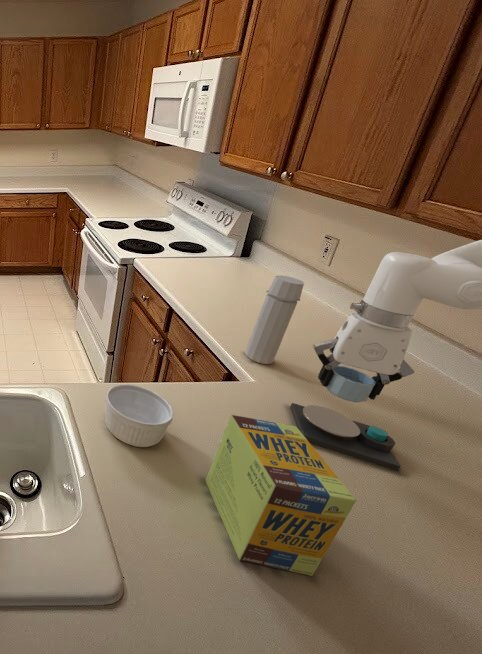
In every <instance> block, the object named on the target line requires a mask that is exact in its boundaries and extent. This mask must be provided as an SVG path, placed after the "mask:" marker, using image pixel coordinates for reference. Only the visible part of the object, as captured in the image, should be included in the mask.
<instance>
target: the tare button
mask: <svg viewBox="0 0 482 654" xmlns="http://www.w3.org/2000/svg"><path fill="white" fill-rule="evenodd" d="M369 426H370V427H369V429H368V431H367V434H368V435H369V436H370V437H372V438H374V439H376V440H379V441H382V442H384V441H385V440H386V438H387V436H388V435H389V434H388V432H387V431H386V430H384V429H382V428H380V427H377V426H373V425H369Z"/></svg>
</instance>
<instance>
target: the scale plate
mask: <svg viewBox="0 0 482 654" xmlns="http://www.w3.org/2000/svg"><path fill="white" fill-rule="evenodd" d="M303 414H304V416H305V417H306V418H307V419H308V420H309V421H310V422H311V423H312V424H314V425H315V426H317V427H319V428H320V429H322V430H324V431H327V432H329V433H331V434H334V435H337V436H341V437H346V438H355V437H358V436H359V435H360V429H359V427H358V426H357V425H356V424H355V423H354V422H353V421H354V420H352V419H351V418H349V417H347V416H345V415H344V414H342V413H340V412H338V411H336V410H333V409H330V408H327V407H325V406H320V405H313V404H312V405H311V404H310V405H305V407H304V408H303ZM351 420H352V421H351Z"/></svg>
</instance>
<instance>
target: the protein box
mask: <svg viewBox="0 0 482 654" xmlns="http://www.w3.org/2000/svg"><path fill="white" fill-rule="evenodd" d="M204 481H205V484H206V487H207V489H208V491H209V493H210V496H211V498H212V500H213V502H214V505H215V508H216V509H217V512H218V514H219V517H220V518H221V521H222V523H223V526H224V528H225V530H226V533H227V535H228V537H229V540H230V542H231V545H232V547H233V549H234V551H235V554H236V556H237V558H238V561H241V562H246V563H251V564H256V565H260V566H265V567H268V568H273V569H279V570H282V571H288V572H293V573H297V574H302V575H306V576H310V577H312V576H314V574H315V572H316V571H317V569H318V567H319V565H320V563H321V562H322V560H323V558H324V557H325V555H326V553H327V551H328V550H329V548H330V546H331V545H332V543H333V541H334V539H335V538H336V536H337V534H338V533H339V531H340V529H341V527H342V526H343V524H344V523H345V521H346V519H347V517H348V516H349V514H350V512H351V510H352V509H353V507H354V506H355V504H356V503H357V498H356V497H355V496H354V495H353V494H352V493H351V491H350V490H349V489H348V487H347V486H346V485H345V484H344V483H343V482H342V480H341V479H340V478H339V477H338V476H337V475H336V473H335V472H334V471H333V470H332V468H331V467H330V465H328V463H327V462H326V461H325V460H324V458H323V457H322V456H321V454H320V453H319V452H318V451H317V450H316V449H315V448H314V446H313V444H311V443H309V442H308V440H307V439H306V438H305V437H304V435H303V434H302V433H301V432H300V431H299V429H298V428H297V426H296V425H290V424H286V423H280V422H274V421H269V420H264V419H263V420H262V419H257V418H251V417H245V416H241V415H235V414H231V415H230V417H229V419H228V422H227V425H226V427H225V429H224V432H223V434H222V437H221V440H220V442H219V445H218V447H217V450H216V452H215V455H214V457H213V459H212V463H211V465H210V467H209V469H208V472H207V475H206V477H205V480H204Z"/></svg>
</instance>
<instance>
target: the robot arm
mask: <svg viewBox="0 0 482 654" xmlns="http://www.w3.org/2000/svg"><path fill="white" fill-rule="evenodd" d="M423 299H427V300H430V301H433V302H436V303H439V304H442V305H446V306H447V307H448V306H449V307H452V308H455V309H461V310H481V309H482V239H479V240H476V241H473V242H470V243H467V244H464V245H461V246H459V247H456V248H453V249H450V250H448V251H445V252H442V253H440V254H437V255H435V256H433V257H432V258H429V257H426V256H423V255H419V254H414V253H410V252H402V251H391V252H389V253H388V252H387V254H385V255H384V256H383V257H382V260H381V261H380V264H379V265H378V267H377V269H376V272H375V273H374V276H373V278H372V280H371V282H370V283H369V286H368V288H367V290H366V292H365V294H364V296H363V299H361V300H360V301H359V303H358V302H356V303H355V302H351V304H350V305H349V309H350V310H354V312H352V313H351V314H350V315H349V316H348V317H347V318H346V320H345V321H344V323H343V324H342V325H341V327H340V328H339V330H338V331H337V332H336V335H335V336H334V338H333V339H329V340H325V341H321V342H315V343H313V344H312V348H313V350H314V352H315V353H316V356H317V357H318V359H319V361H320V362H321V364H322V367H321V369H320V371H319V373H318V375H317V379H318V380H319V383H320V384H321V386H322V387H324V388H326V386H328V384H329V382H330V379H331V377H332V375H333V373H334V371H333V368H334V367H336V366H338V365H341V364H342V365H344V366H348V367H351V368H357V369H361V370H364V371H368V372H372V373H375V374H376V375H373V376H372V377H371V378H373V379H374V381H375V382H376V383H375V385H374V387H373V389H372V391H371V393H370V395H369V397H368V399H369V400H372V401H374V400H376V398H377V396H380V395H381V392H382V391H383V389H384V388H385V386H387V385H390V383H392V382H396V381H399V380H402V379H403V378H406V377H408V376H411V375H413V374H415V370H414V369H413V368H412V366H411V365H409V363H407V361H406V360H405V359H404V358H405V356H406V354H407V351H408V348H409V345H410V341H411V337H412V333H413V329H412V328H410V327H409V325H410V323H411V321H412V319H413V317H414V316H415V314H416V312H417V310H418V308H419V307H420V305H421V303H422V301H423ZM326 350H329V352H330V353H331V354H329V355H328V356H326V355H325V352H324V351H326Z"/></svg>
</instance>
